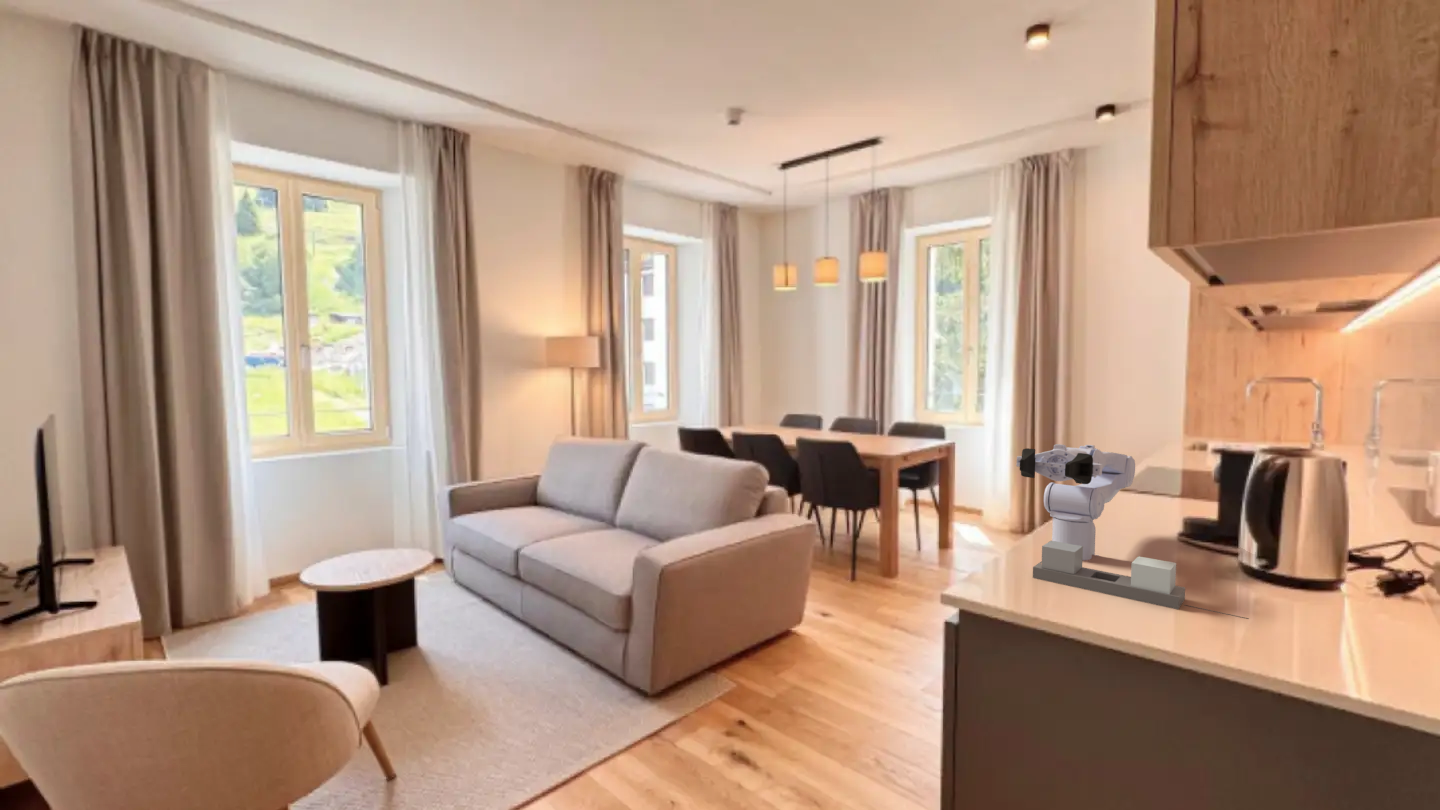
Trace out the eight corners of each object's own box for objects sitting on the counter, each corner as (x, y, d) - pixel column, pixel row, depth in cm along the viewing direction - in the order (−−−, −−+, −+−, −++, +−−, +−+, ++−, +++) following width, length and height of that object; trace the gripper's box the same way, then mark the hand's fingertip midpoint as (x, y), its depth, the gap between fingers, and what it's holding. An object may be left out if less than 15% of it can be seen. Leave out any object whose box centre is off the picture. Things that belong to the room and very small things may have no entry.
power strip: (1043, 574, 122) (1044, 538, 121) (1250, 619, 100) (1252, 575, 100) (1032, 582, 117) (1033, 545, 117) (1246, 630, 96) (1248, 585, 96)
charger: (1136, 590, 110) (1138, 556, 110) (1174, 598, 107) (1176, 562, 106) (1130, 597, 107) (1131, 562, 107) (1169, 606, 103) (1170, 570, 103)
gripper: (1028, 440, 130) (1004, 442, 121) (1109, 447, 120) (1090, 449, 111) (1026, 474, 131) (1002, 479, 121) (1107, 484, 121) (1087, 490, 111)
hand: (1043, 467), depth 116 cm, fingers open, 7 cm apart
